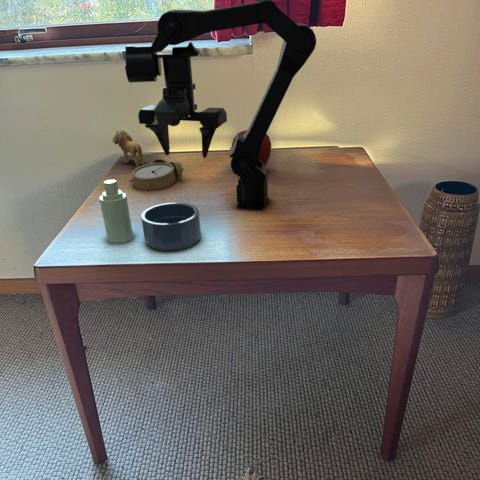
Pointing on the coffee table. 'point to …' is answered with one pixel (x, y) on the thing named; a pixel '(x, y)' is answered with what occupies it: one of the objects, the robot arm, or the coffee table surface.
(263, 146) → the apple
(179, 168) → the alarm clock
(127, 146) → the lion figurine
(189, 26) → the robot arm
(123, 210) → the capped bottle
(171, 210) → the pot
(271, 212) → the coffee table surface
